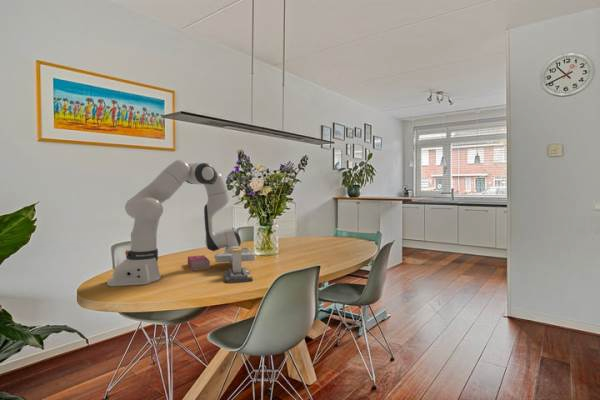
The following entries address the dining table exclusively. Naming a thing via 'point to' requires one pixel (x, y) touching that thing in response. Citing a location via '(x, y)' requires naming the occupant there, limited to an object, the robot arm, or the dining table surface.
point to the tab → (236, 260)
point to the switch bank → (237, 276)
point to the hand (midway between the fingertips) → (236, 260)
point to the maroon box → (198, 262)
